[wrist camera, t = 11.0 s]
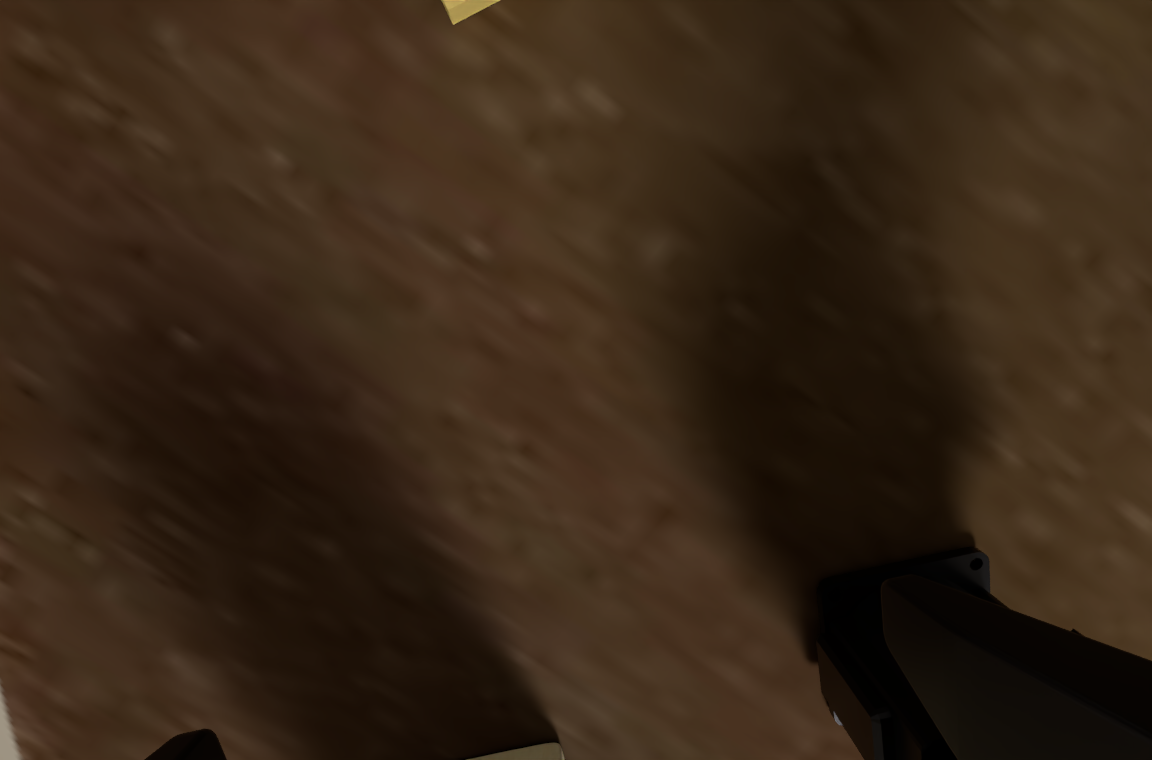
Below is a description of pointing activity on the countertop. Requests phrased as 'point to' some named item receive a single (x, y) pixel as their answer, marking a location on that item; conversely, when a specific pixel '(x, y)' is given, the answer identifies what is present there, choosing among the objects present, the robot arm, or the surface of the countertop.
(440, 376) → the countertop surface
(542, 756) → the tall cream block
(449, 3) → the pad
